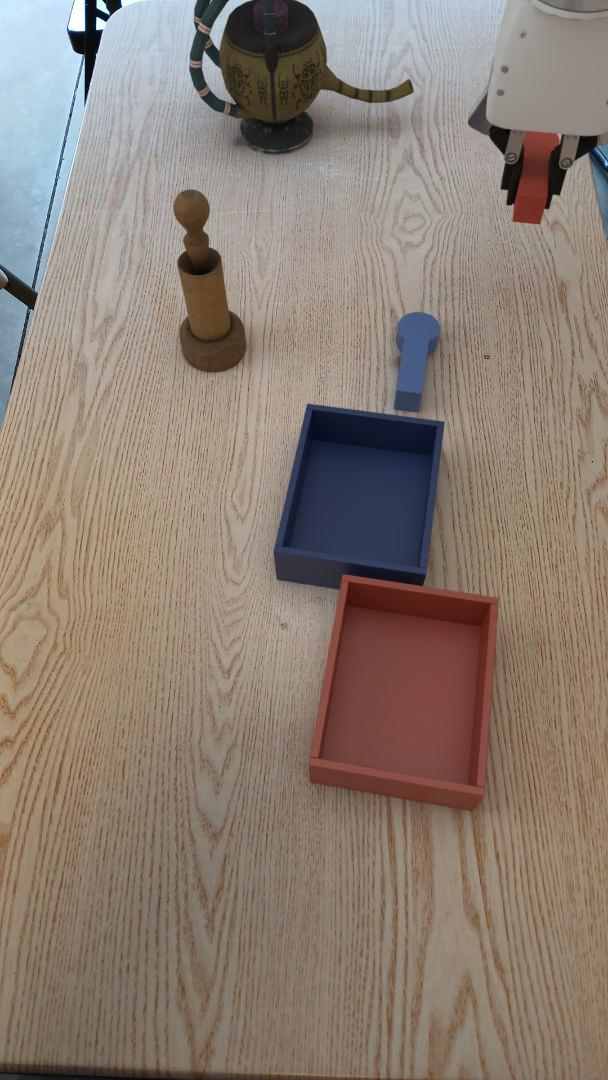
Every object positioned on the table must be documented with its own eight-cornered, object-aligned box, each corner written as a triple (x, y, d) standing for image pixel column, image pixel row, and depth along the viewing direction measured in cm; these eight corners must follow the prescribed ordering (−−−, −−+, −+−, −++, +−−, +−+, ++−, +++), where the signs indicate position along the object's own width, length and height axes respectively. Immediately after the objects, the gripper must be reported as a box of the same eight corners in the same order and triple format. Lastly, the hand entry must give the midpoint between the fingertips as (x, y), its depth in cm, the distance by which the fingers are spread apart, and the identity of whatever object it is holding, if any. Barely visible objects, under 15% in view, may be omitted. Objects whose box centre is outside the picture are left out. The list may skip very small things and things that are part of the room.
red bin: (473, 811, 61) (484, 796, 57) (309, 782, 62) (308, 765, 58) (487, 623, 68) (499, 597, 64) (341, 600, 70) (342, 573, 65)
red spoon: (550, 226, 72) (558, 198, 69) (501, 221, 72) (507, 193, 70) (555, 147, 77) (562, 118, 75) (509, 143, 78) (515, 114, 75)
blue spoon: (428, 413, 79) (431, 394, 77) (384, 408, 79) (386, 388, 77) (439, 328, 84) (443, 308, 82) (398, 323, 85) (400, 303, 82)
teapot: (205, 102, 104) (177, -118, 83) (406, 96, 103) (426, -126, 83) (200, 164, 98) (169, -56, 77) (413, 159, 97) (437, -64, 77)
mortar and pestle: (168, 345, 84) (133, 192, 68) (218, 313, 86) (195, 158, 70) (209, 383, 81) (182, 233, 66) (259, 349, 83) (245, 196, 68)
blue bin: (419, 601, 69) (426, 574, 65) (276, 579, 71) (273, 551, 66) (437, 454, 77) (444, 421, 72) (307, 437, 78) (307, 403, 74)
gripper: (700, -50, 59) (621, 179, 75) (471, -65, 61) (441, 162, 76) (705, 7, 55) (621, 235, 71) (461, -10, 57) (432, 216, 73)
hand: (528, 195), depth 74 cm, fingers closed on red spoon, 2 cm apart
